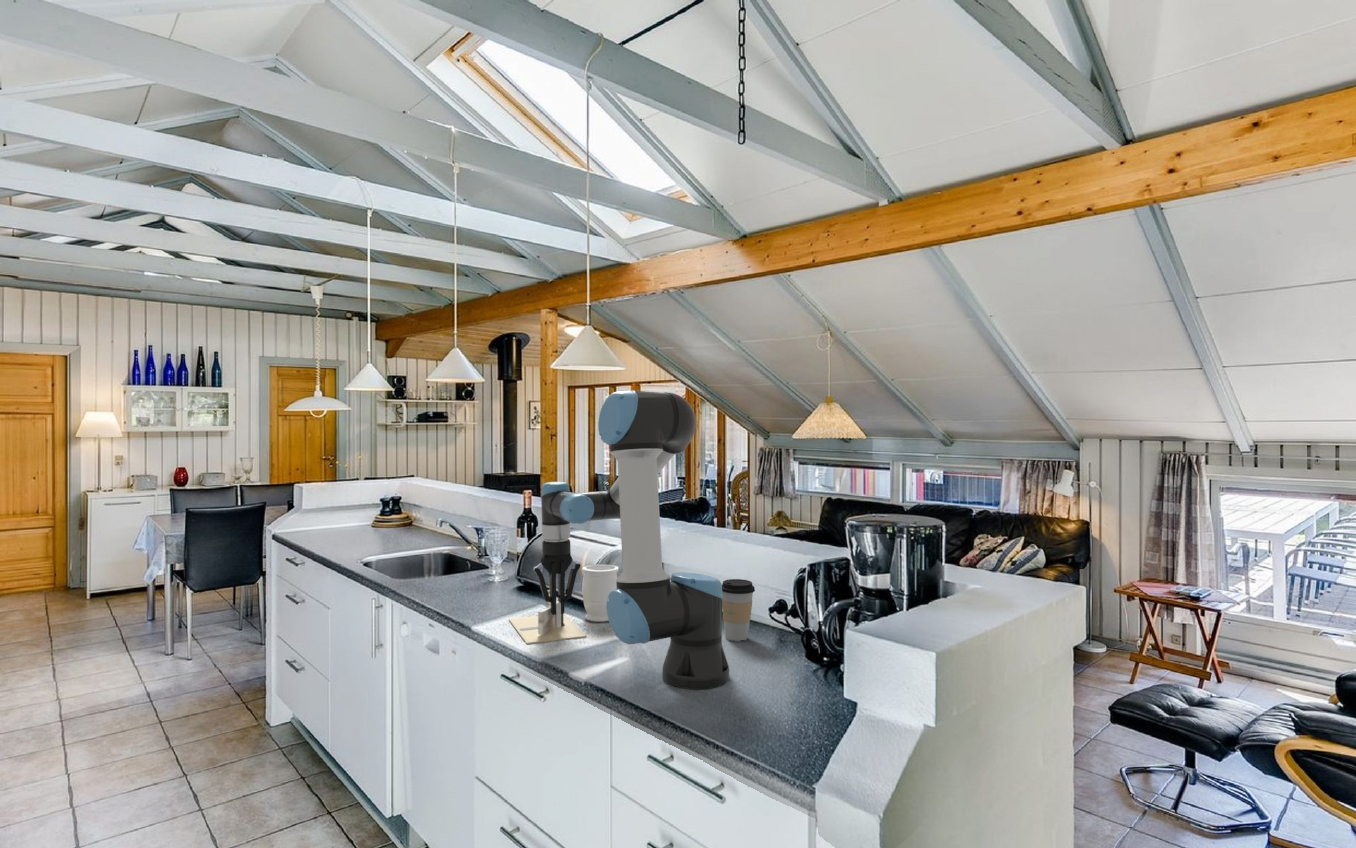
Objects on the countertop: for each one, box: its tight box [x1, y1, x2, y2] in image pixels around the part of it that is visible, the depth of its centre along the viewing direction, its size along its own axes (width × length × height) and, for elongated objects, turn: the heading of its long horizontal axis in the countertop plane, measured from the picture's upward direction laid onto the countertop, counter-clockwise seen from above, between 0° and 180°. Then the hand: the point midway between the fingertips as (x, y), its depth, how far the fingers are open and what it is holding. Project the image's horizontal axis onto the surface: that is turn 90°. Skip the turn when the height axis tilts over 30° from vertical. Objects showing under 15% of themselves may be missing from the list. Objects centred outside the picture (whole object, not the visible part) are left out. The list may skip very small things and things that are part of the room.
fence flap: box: [537, 599, 565, 635], centre depth 191 cm, size 12×2×7 cm, turn 161°
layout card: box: [508, 614, 587, 645], centre depth 195 cm, size 24×16×1 cm, turn 24°
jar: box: [581, 563, 620, 623], centre depth 205 cm, size 11×10×15 cm
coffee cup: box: [721, 578, 756, 642], centre depth 188 cm, size 9×9×15 cm
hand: (557, 626), depth 189 cm, fingers closed
